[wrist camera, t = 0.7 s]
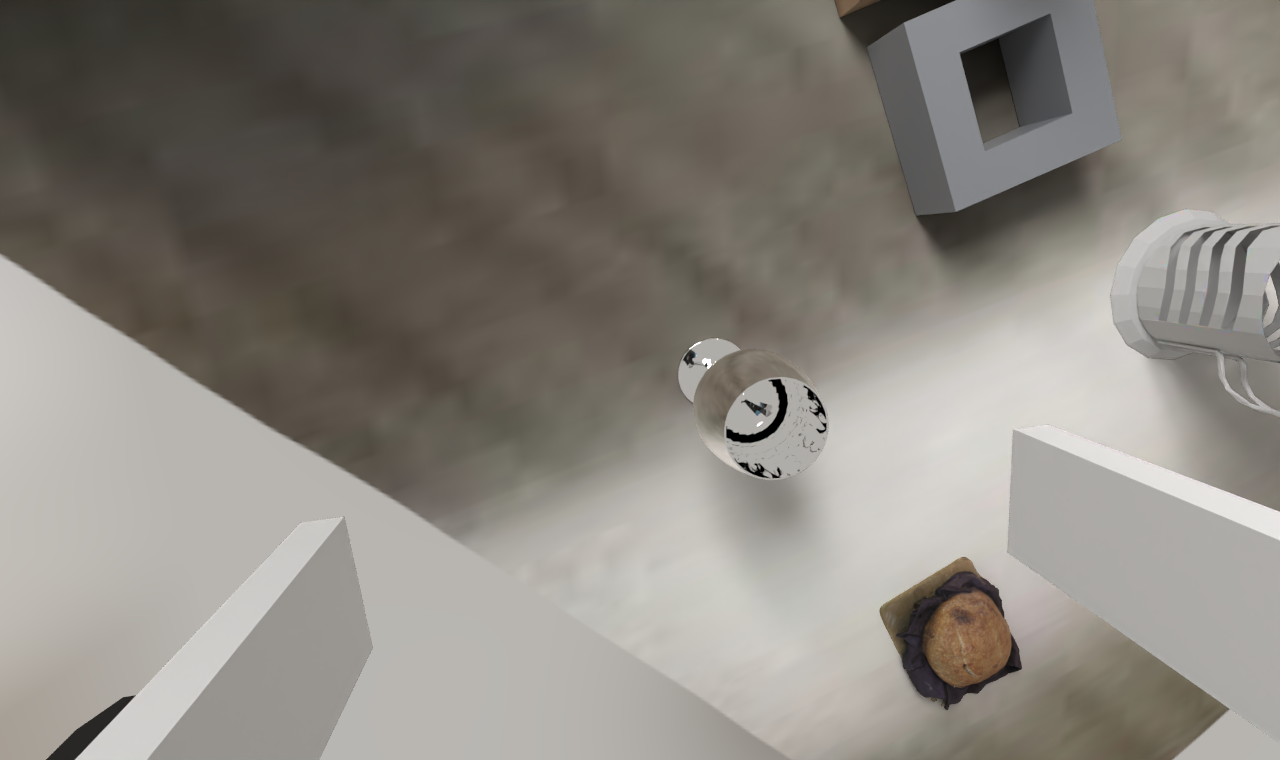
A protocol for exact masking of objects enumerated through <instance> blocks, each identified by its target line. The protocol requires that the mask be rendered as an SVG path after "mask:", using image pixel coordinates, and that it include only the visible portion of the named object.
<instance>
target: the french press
mask: <svg viewBox="0 0 1280 760" xmlns="http://www.w3.org/2000/svg"><path fill="white" fill-rule="evenodd" d="M1279 261H1280V223H1264V224H1229V223H1228V222H1227V221H1225V220H1224V219H1222V218H1221V217H1219V216H1218V215H1216V214H1215V213H1214V212H1209V211H1200V210H1191V209H1185V210H1182V211H1179V212H1176V213H1173V214H1170V215H1167V216H1164V217H1161V218H1158V219H1157V220H1156V221H1155V222H1154V223H1152V224H1151V225H1150V226H1149V227H1147V228H1146V229H1145V230H1144V231H1143V232H1141V233H1140V234H1139V235H1138V236H1136V237H1135V238H1134V240H1133V241H1132V243H1131V245H1130V246H1129V248H1128V249H1127V251H1126V253H1125V254H1124V256H1123V257H1122V259H1121V260H1120V262H1119V264H1118V265H1117V270H1116V274H1115V278H1114V282H1113V286H1112V290H1111V295H1110V296H1111V304H1112V312H1113V320H1114V324H1115V326H1116V328H1117V329H1118V331H1119V332H1120V334H1121V336H1122V337H1123V339H1124V341H1125V342H1126V344H1127V345H1128V346H1130V347H1131V348H1133V349H1135V350H1136V351H1138V352H1139V353H1141V354H1143V355H1144V356H1146V357H1148V358H1159V359H1172V360H1174V359H1176V358H1179V357H1182V356H1185V355H1188V354H1191V353H1194V352H1195V353H1201V354H1206V355H1212V356H1216V357H1217V360H1218V371H1219V378H1220V379H1221V381H1222V383H1223V385H1224V387H1225V389H1226V390H1227V392H1228V393H1229V394H1230V395H1231V396H1233V397H1234V398H1235V399H1236V400H1237V401H1238V402H1240V403H1242V404H1244V405H1245V406H1247V407H1249V408H1251V409H1253V410H1255V411H1258V412H1263V413H1267V414H1271V415H1275V416H1278V417H1280V411H1276V410H1274V409H1272V408H1270V407H1269V406H1267V405H1266V404H1264V403H1263V402H1262V401H1260V400H1259V399H1258V398H1256V397H1255V396H1254V394H1253V392H1252V390H1251V388H1250V386H1249V384H1248V380H1247V367H1246V363H1245V361H1244V360H1243V359H1242V358H1241V357H1247V358H1253V359H1259V360H1265V361H1271V362H1277V363H1280V351H1279V350H1272V348H1275V347H1277V346H1280V337H1279V338H1278V339H1277V340H1275V341H1272V342H1269V343H1268V341H1267V339H1266V338H1267V337H1268V336H1270V335H1271V334H1272V333H1274V332H1275V331H1276V330H1278V329H1279V328H1280V264H1279ZM1270 275H1271V278H1272V281H1273V284H1274V287H1275V290H1276V294H1277V299H1278V304H1279V306H1278V309H1277V312H1276V314H1275V317H1274V320H1273V322H1272V323H1271V324H1270V325H1269V326H1267V327H1266V328H1265V329H1263V325H1262V321H1263V319H1264V316H1265V314H1266V311H1267V309H1268V306H1269V303H1268V299H1267V295H1266V291H1265V288H1266V285H1267V282H1268V279H1269V276H1270ZM1239 356H1241V357H1239ZM1224 358H1229V359H1234V360H1236V361H1238V362H1239V365H1240V374H1241V383H1242V386H1243V388H1244V389H1245V391H1246V393H1247V395H1248V397H1249V399H1250V400H1252V401H1253V402H1254V403H1256V404H1257V405H1255V404H1252V403H1250V402H1248V401H1247V400H1246V399H1244V398H1243V397H1242V396H1240V395H1239V394H1237V393H1236V392H1235V391H1233V390H1232V389H1231V388H1230V386H1229V384H1228V382H1227V379H1226V377H1225V366H1224Z"/></svg>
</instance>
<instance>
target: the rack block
mask: <svg viewBox="0 0 1280 760" xmlns="http://www.w3.org/2000/svg"><path fill="white" fill-rule="evenodd" d="M996 39H999V43H1000V47H1001V51H1002V55H1003V59H1004V63H1005V68H1006V72H1007V76H1008V80H1009V84H1010V88H1011V92H1012V97H1013V101H1014V105H1015V109H1016V113H1017V117H1018V121H1019V125H1020V127H1019V128H1016V129H1014V130H1012V131H1010V132H1007V133H1005V134H1003V135H1000V136H998V137H996V138H993V139H991V140H989V141H987V142H984V143H983V142H982V138H981V135H980V131H979V127H978V123H977V119H976V115H975V111H974V107H973V104H972V100H971V96H970V92H969V88H968V84H967V80H966V76H965V73H964V69H963V65H962V61H961V57H960V55H961V54H963V53H965V52H968V51H970V50H972V49H975V48H977V47H979V46H982V45H984V44H986V43H989V42H991V41H993V40H996ZM867 50H868V53H869V57H870V60H871V63H872V67H873V70H874V74H875V77H876V80H877V84H878V87H879V91H880V94H881V98H882V101H883V104H884V108H885V111H886V115H887V118H888V122H889V125H890V128H891V132H892V135H893V139H894V142H895V145H896V149H897V152H898V156H899V159H900V163H901V166H902V169H903V173H904V176H905V180H906V183H907V187H908V190H909V193H910V197H911V200H912V204H913V207H914V210H915V214H916V215H927V214H938V213H950V212H957V211H959V210H962V209H964V208H966V207H969V206H971V205H973V204H975V203H978V202H980V201H982V200H985V199H987V198H989V197H991V196H994V195H996V194H998V193H1001V192H1003V191H1005V190H1007V189H1010V188H1012V187H1014V186H1017V185H1019V184H1021V183H1024V182H1026V181H1028V180H1030V179H1033V178H1035V177H1037V176H1040V175H1042V174H1044V173H1046V172H1049V171H1051V170H1053V169H1056V168H1058V167H1060V166H1062V165H1065V164H1067V163H1069V162H1072V161H1074V160H1076V159H1079V158H1081V157H1083V156H1085V155H1088V154H1090V153H1092V152H1095V151H1097V150H1099V149H1101V148H1104V147H1106V146H1108V145H1111V144H1113V143H1115V142H1118V141H1120V140H1122V138H1121V133H1120V128H1119V123H1118V118H1117V113H1116V108H1115V104H1114V99H1113V94H1112V89H1111V84H1110V79H1109V74H1108V69H1107V64H1106V59H1105V54H1104V49H1103V45H1102V40H1101V35H1100V30H1099V25H1098V20H1097V15H1096V10H1095V5H1094V0H955V1H953V2H951V3H948V4H946V5H944V6H941V7H939V8H937V9H934V10H932V11H930V12H927V13H925V14H923V15H921V16H918V17H916V18H914V19H911V20H909V21H907V22H904V23H903V24H901V25H900V26H898V27H897V28H895V29H894V30H892V31H891V32H889V33H887V34H886V35H884V36H883V37H881V38H880V39H878V40H877V41H875V42H874V43H872V44H871V45H869V46H868V47H867Z"/></svg>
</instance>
